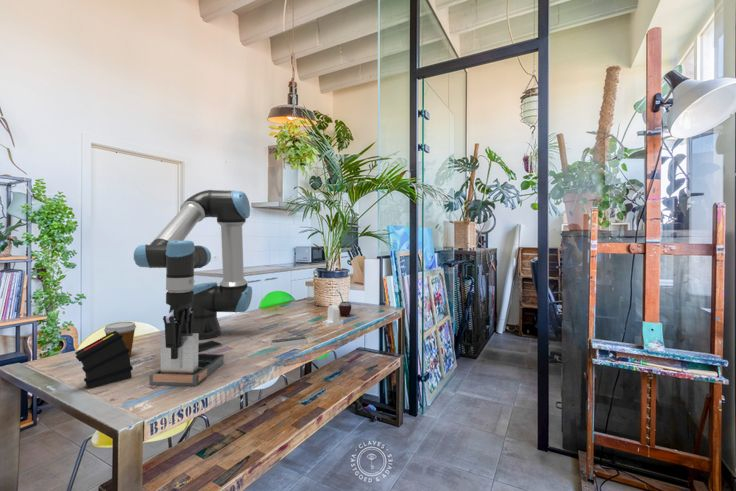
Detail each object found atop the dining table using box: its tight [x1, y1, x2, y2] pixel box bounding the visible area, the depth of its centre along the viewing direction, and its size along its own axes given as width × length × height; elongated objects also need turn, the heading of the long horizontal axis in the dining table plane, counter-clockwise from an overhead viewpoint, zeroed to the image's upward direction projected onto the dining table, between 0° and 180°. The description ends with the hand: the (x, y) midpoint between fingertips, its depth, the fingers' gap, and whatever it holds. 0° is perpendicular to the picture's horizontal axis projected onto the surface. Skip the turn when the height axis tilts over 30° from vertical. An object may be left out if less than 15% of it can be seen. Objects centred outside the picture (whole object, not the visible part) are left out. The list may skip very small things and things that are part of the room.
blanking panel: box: [160, 333, 199, 375], centre depth 106 cm, size 10×3×12 cm, turn 89°
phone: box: [198, 340, 222, 353], centre depth 136 cm, size 8×1×15 cm
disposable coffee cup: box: [103, 321, 137, 357], centre depth 124 cm, size 10×10×12 cm
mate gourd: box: [336, 289, 352, 318], centre depth 197 cm, size 8×8×15 cm
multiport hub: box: [270, 335, 308, 349], centre depth 144 cm, size 4×14×2 cm, turn 118°
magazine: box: [74, 331, 134, 389], centre depth 104 cm, size 4×13×15 cm, turn 140°
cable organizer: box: [322, 304, 344, 328], centre depth 178 cm, size 5×10×10 cm, turn 130°
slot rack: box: [149, 353, 225, 387], centre depth 112 cm, size 14×19×3 cm
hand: (179, 366), depth 106 cm, fingers closed on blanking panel, 3 cm apart
